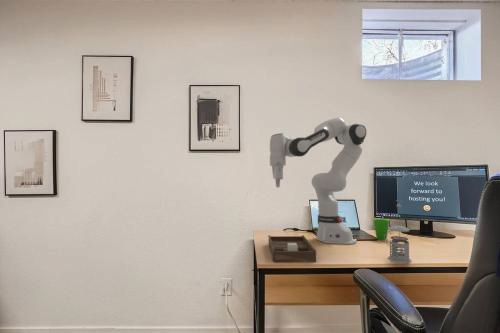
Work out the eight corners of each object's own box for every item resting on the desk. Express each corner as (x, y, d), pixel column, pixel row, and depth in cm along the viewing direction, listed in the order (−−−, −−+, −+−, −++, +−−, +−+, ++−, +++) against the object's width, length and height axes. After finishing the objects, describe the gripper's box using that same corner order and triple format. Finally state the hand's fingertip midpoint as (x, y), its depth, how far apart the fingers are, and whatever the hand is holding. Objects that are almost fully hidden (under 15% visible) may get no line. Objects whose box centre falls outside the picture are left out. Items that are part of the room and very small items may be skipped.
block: (287, 251, 135) (287, 242, 135) (296, 251, 135) (296, 242, 135) (288, 253, 131) (288, 245, 131) (297, 253, 131) (297, 245, 131)
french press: (404, 264, 123) (403, 205, 124) (379, 257, 133) (378, 203, 133) (416, 260, 128) (415, 204, 129) (391, 254, 138) (391, 202, 139)
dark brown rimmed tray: (268, 244, 157) (268, 235, 157) (303, 244, 157) (303, 235, 157) (273, 262, 127) (273, 250, 127) (316, 261, 127) (316, 250, 127)
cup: (373, 240, 167) (372, 221, 167) (372, 236, 175) (372, 218, 175) (390, 241, 163) (390, 222, 163) (389, 237, 172) (389, 219, 172)
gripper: (285, 161, 150) (285, 188, 150) (281, 163, 171) (281, 186, 171) (273, 161, 150) (273, 188, 150) (270, 163, 171) (270, 186, 171)
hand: (277, 187), depth 161 cm, fingers closed
